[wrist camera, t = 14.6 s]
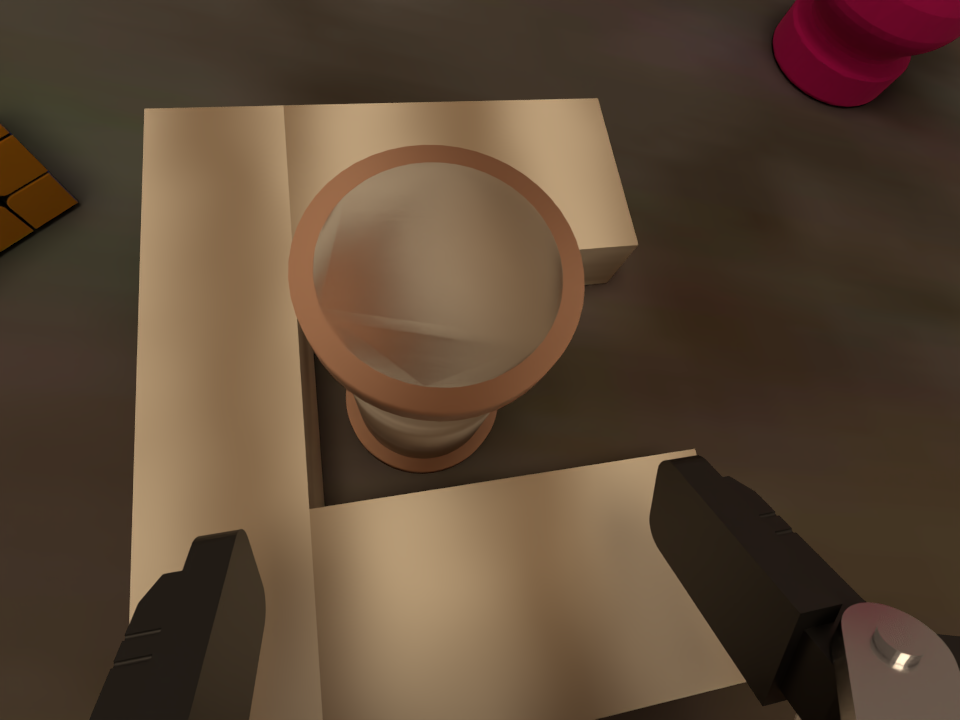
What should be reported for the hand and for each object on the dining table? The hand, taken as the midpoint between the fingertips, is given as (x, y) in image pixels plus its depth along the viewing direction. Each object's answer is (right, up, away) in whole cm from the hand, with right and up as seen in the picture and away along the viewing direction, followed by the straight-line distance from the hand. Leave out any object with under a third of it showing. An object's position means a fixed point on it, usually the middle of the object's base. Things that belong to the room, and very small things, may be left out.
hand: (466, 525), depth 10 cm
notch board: (-2, +2, +9) cm, 9 cm away
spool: (-2, +2, +8) cm, 9 cm away
